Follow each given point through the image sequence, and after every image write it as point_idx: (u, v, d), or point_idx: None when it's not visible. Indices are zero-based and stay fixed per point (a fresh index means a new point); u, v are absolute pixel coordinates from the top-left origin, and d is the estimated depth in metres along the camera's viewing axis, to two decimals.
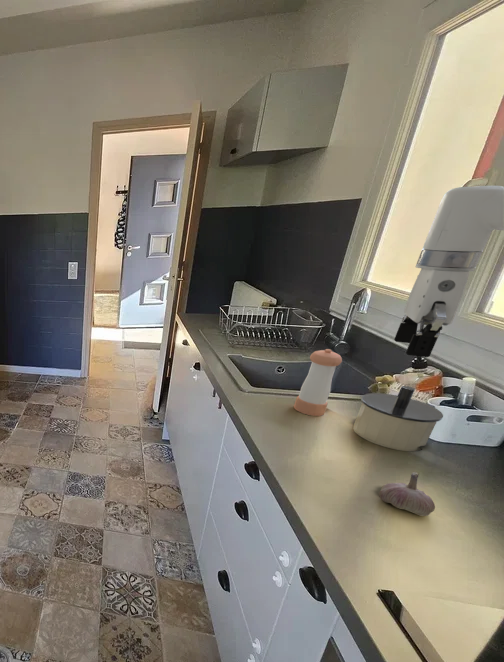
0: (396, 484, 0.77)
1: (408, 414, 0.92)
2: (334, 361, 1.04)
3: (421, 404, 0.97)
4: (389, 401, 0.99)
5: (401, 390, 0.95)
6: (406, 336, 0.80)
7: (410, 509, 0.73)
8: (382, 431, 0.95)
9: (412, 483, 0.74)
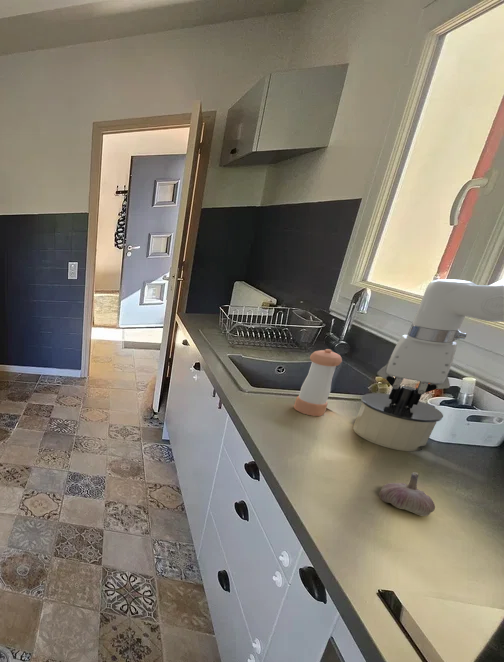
0: (396, 484, 0.77)
1: (408, 414, 0.92)
2: (334, 361, 1.04)
3: (421, 404, 0.97)
4: (389, 401, 0.99)
5: (401, 390, 0.95)
6: (396, 398, 0.97)
7: (410, 509, 0.73)
8: (382, 431, 0.95)
9: (412, 483, 0.74)
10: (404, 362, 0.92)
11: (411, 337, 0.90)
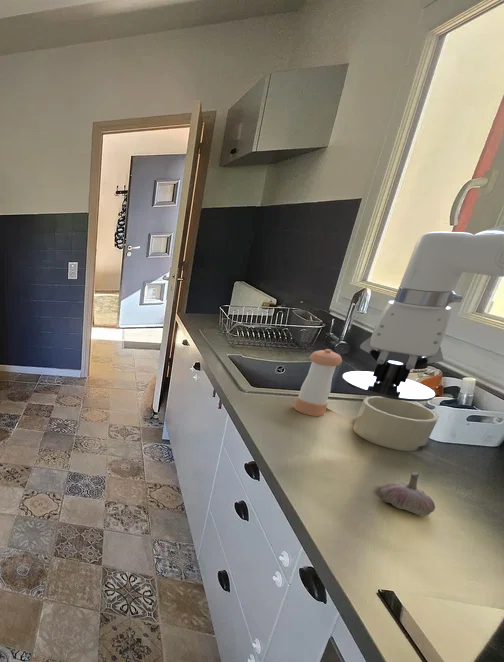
0: (396, 484, 0.77)
1: (394, 392, 0.79)
2: (334, 361, 1.04)
3: (410, 383, 0.84)
4: (374, 379, 0.86)
5: (387, 365, 0.82)
6: None
7: (410, 509, 0.73)
8: (382, 431, 0.95)
9: (412, 483, 0.74)
10: (390, 332, 0.79)
11: (398, 302, 0.77)
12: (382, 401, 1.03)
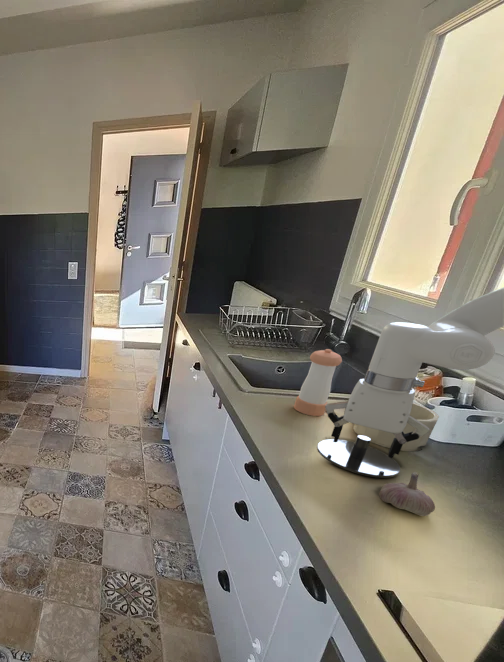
0: (396, 484, 0.77)
1: (363, 467, 0.86)
2: (334, 361, 1.04)
3: (378, 454, 0.91)
4: (346, 450, 0.93)
5: (357, 440, 0.89)
6: (339, 435, 0.92)
7: (410, 509, 0.73)
8: (382, 431, 0.95)
9: (412, 483, 0.74)
10: (361, 409, 0.86)
11: (367, 383, 0.84)
12: None
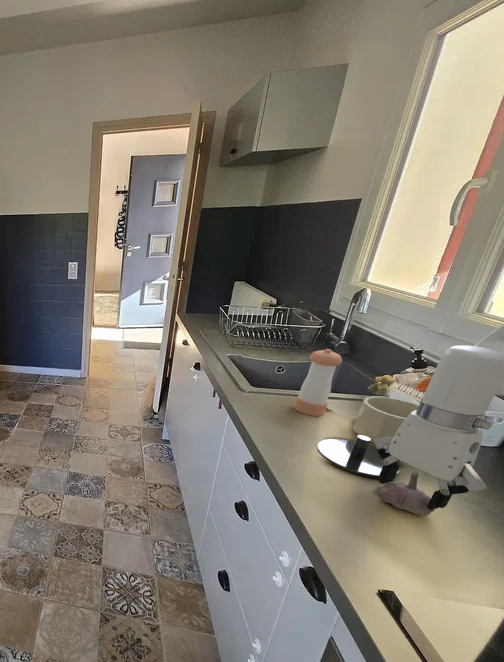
0: (396, 484, 0.77)
1: (363, 467, 0.86)
2: (334, 361, 1.04)
3: (378, 454, 0.91)
4: (346, 450, 0.93)
5: (357, 440, 0.89)
6: (389, 477, 0.78)
7: (410, 509, 0.73)
8: (382, 431, 0.95)
9: (412, 483, 0.74)
10: (405, 443, 0.73)
11: (416, 413, 0.71)
12: (382, 401, 1.03)
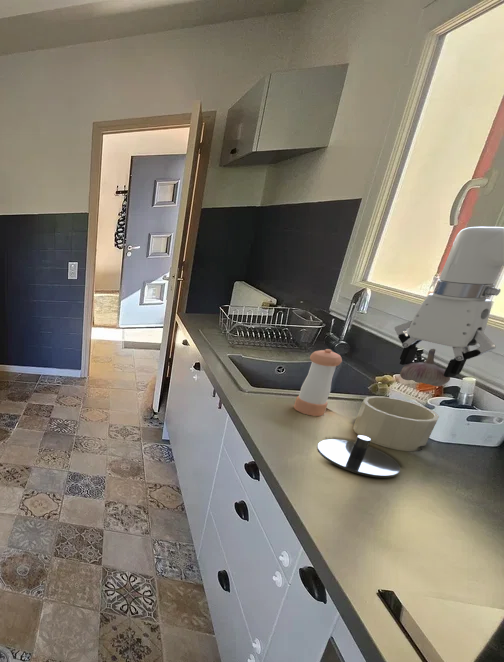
0: (415, 363, 0.87)
1: (363, 467, 0.86)
2: (334, 361, 1.04)
3: (378, 454, 0.91)
4: (346, 450, 0.93)
5: (357, 440, 0.89)
6: (409, 359, 0.89)
7: (429, 380, 0.84)
8: (382, 431, 0.95)
9: (430, 358, 0.85)
10: (424, 321, 0.84)
11: (433, 293, 0.82)
12: (382, 401, 1.03)
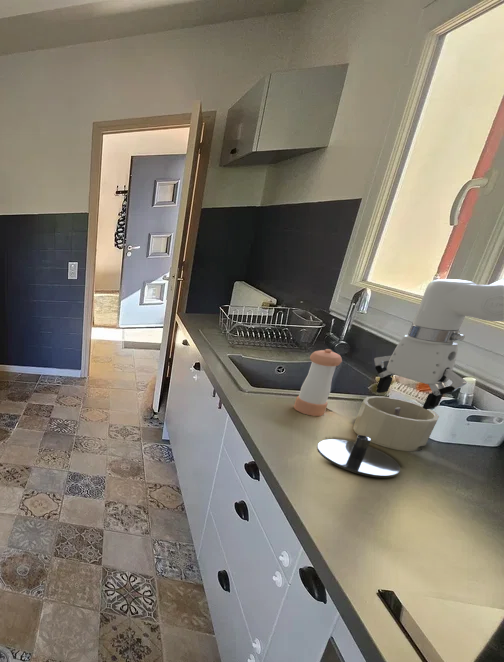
0: None
1: (363, 467, 0.86)
2: (334, 361, 1.04)
3: (378, 454, 0.91)
4: (346, 450, 0.93)
5: (357, 440, 0.89)
6: (385, 387, 0.99)
7: None
8: (382, 431, 0.95)
9: None
10: (400, 360, 0.94)
11: (408, 335, 0.92)
12: (382, 401, 1.03)
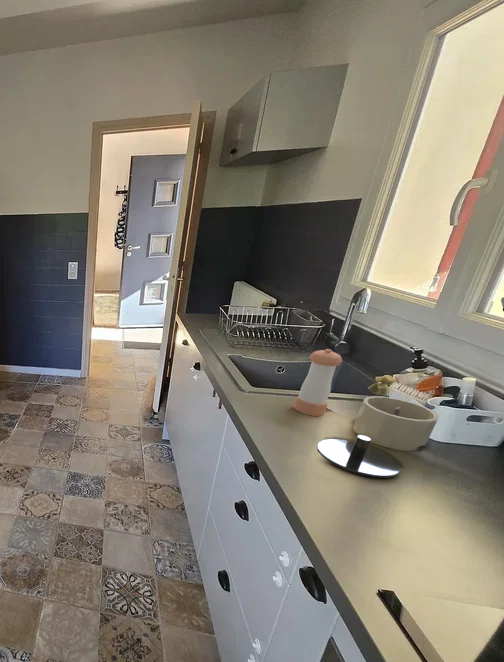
0: None
1: (363, 467, 0.86)
2: (334, 361, 1.04)
3: (378, 454, 0.91)
4: (346, 450, 0.93)
5: (357, 440, 0.89)
6: None
7: None
8: (382, 431, 0.95)
9: None
10: None
11: None
12: (382, 401, 1.03)
